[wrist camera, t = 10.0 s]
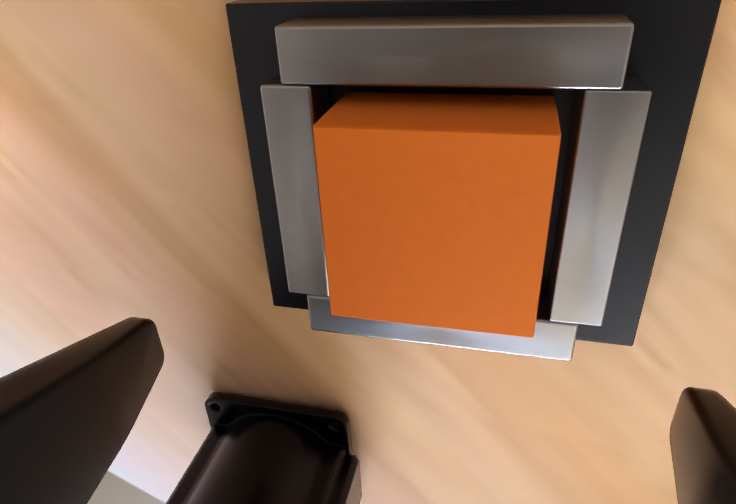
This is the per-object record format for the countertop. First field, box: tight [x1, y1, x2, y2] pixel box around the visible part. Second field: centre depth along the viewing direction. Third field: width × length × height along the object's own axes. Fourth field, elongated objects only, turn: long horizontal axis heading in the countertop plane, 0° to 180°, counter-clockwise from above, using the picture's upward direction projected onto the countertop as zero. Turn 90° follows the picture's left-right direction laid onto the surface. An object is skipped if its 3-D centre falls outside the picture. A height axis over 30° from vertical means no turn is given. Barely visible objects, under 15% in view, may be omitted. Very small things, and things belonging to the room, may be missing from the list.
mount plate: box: [226, 0, 721, 361], centre depth 16 cm, size 12×10×2 cm
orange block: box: [313, 92, 561, 338], centre depth 15 cm, size 6×6×3 cm
